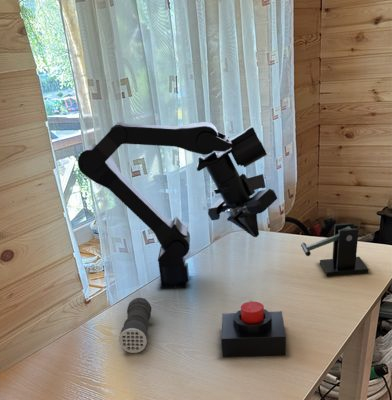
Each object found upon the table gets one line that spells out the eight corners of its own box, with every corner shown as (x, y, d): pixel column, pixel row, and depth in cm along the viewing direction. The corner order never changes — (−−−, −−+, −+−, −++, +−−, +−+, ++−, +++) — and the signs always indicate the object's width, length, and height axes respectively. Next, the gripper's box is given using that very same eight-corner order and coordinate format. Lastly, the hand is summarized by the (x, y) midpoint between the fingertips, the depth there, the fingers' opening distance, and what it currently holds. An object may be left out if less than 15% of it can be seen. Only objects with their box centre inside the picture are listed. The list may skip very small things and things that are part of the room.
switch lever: (307, 259, 124) (304, 250, 122) (302, 249, 129) (299, 241, 128) (356, 240, 121) (353, 231, 120) (349, 232, 127) (347, 223, 125)
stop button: (241, 324, 98) (240, 312, 96) (241, 313, 102) (240, 301, 100) (264, 323, 97) (264, 311, 96) (263, 312, 101) (263, 300, 100)
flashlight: (129, 317, 116) (126, 295, 113) (153, 315, 116) (150, 293, 113) (121, 353, 103) (116, 330, 100) (148, 351, 103) (144, 328, 100)
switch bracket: (326, 277, 125) (329, 234, 119) (319, 264, 132) (321, 223, 126) (368, 273, 125) (372, 230, 119) (358, 260, 132) (362, 219, 126)
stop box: (222, 357, 99) (220, 330, 96) (223, 331, 107) (222, 305, 104) (285, 355, 98) (285, 328, 94) (281, 329, 106) (281, 303, 103)
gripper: (276, 151, 111) (305, 213, 118) (223, 166, 126) (251, 220, 133) (244, 178, 107) (276, 241, 114) (193, 191, 122) (224, 245, 129)
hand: (256, 236), depth 123 cm, fingers closed
